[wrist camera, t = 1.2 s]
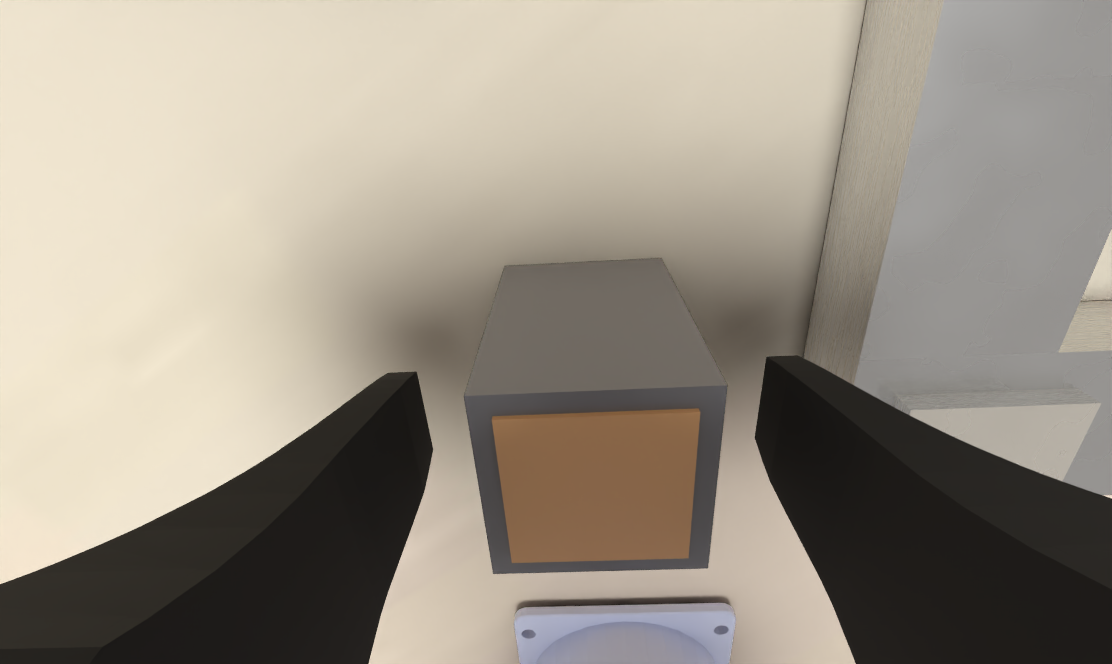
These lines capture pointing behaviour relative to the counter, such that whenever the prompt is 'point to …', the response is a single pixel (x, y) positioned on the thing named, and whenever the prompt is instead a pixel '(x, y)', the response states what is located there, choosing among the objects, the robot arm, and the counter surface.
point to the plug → (595, 421)
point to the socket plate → (978, 228)
